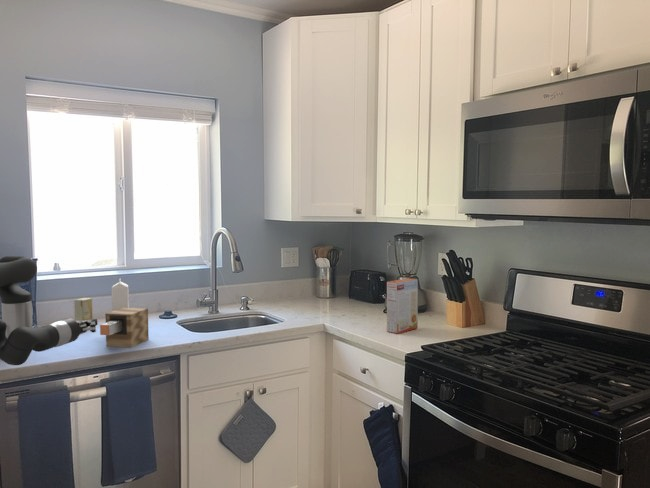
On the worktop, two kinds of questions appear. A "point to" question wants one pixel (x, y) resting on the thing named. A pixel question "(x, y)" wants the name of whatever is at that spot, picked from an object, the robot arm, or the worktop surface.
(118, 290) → the milk
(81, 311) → the skincare box
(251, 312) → the worktop surface
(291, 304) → the worktop surface
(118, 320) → the peg
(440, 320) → the worktop surface
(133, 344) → the block
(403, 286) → the cracker box
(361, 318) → the worktop surface
